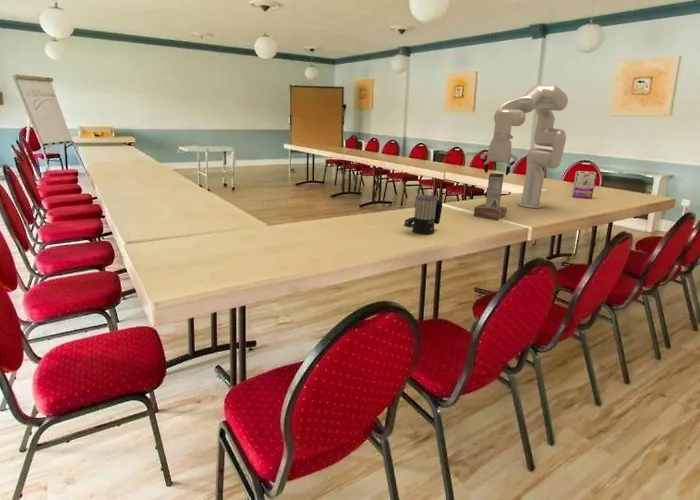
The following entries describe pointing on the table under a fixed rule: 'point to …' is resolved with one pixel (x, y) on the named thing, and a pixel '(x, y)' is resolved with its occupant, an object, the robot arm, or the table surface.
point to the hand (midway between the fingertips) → (496, 173)
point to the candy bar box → (583, 184)
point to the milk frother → (425, 214)
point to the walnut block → (490, 212)
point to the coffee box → (494, 191)
